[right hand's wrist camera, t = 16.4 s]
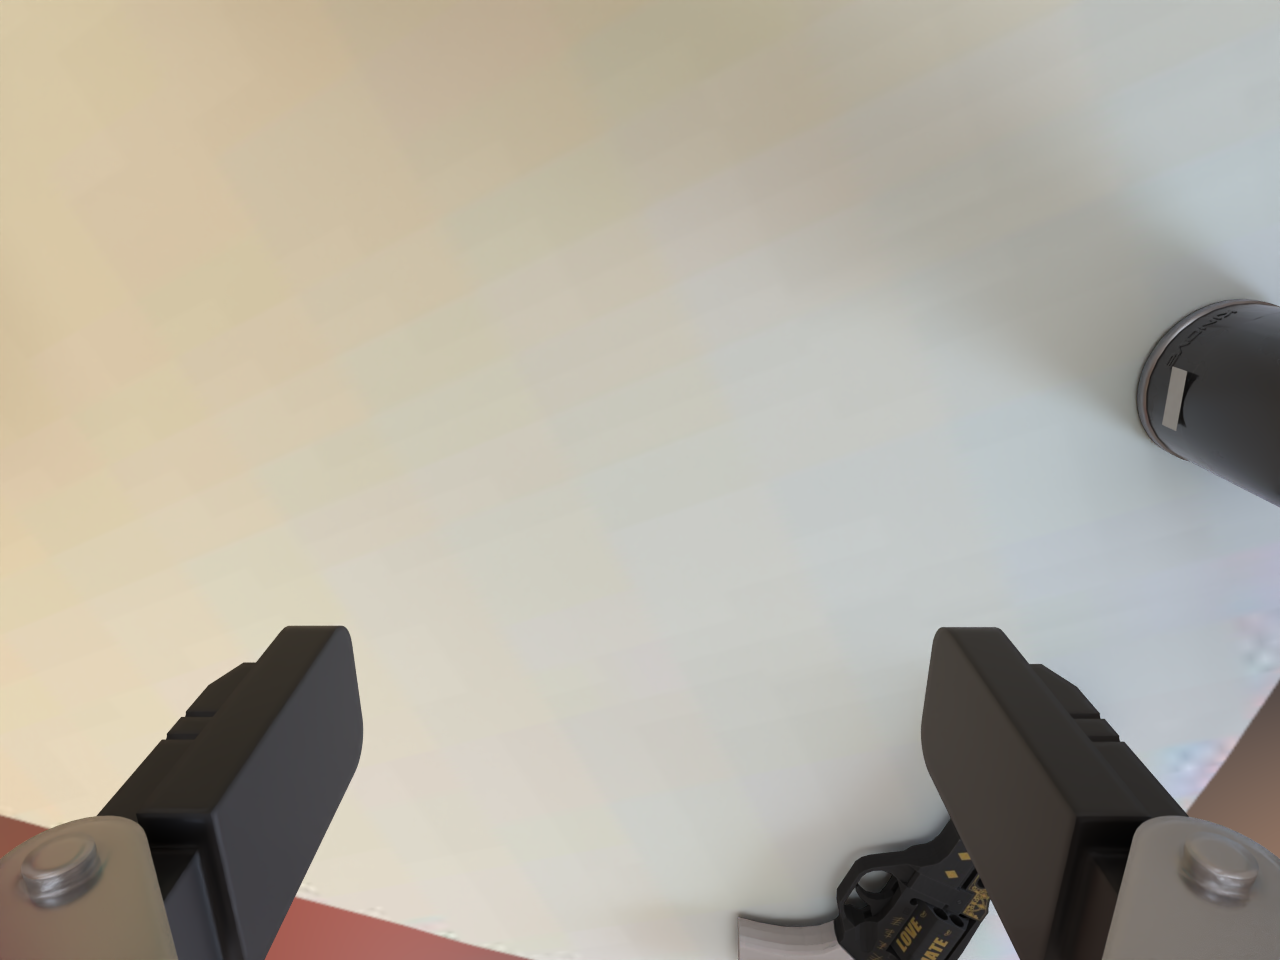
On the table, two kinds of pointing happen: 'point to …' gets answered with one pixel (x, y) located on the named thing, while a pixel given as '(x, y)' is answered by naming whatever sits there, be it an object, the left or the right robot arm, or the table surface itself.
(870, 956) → the decorative firearm
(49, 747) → the table surface
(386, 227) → the table surface
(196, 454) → the table surface
